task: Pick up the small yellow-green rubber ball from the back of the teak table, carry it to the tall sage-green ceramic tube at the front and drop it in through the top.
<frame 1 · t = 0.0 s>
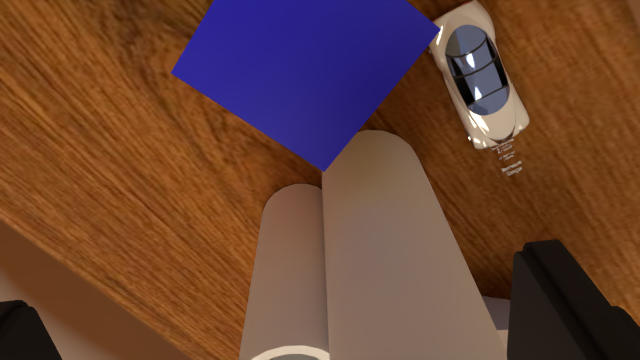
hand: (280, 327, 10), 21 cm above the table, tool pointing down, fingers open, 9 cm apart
bowl: (461, 336, 39), on the table
toy car: (481, 96, 30), on the table
vase: (344, 198, 33), on the table
cube: (305, 17, 27), on the table
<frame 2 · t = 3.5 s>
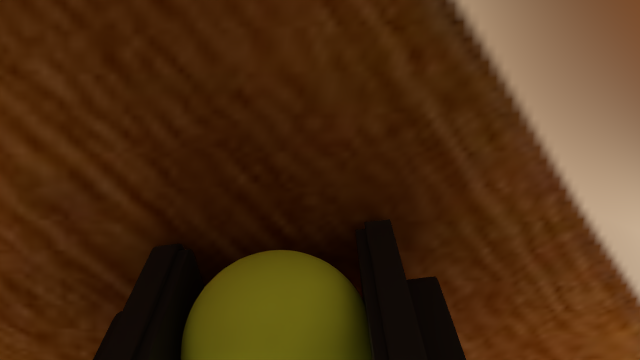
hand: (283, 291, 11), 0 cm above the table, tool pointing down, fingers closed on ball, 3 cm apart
ball: (279, 346, 9), point 2 cm above the table, touching gripper
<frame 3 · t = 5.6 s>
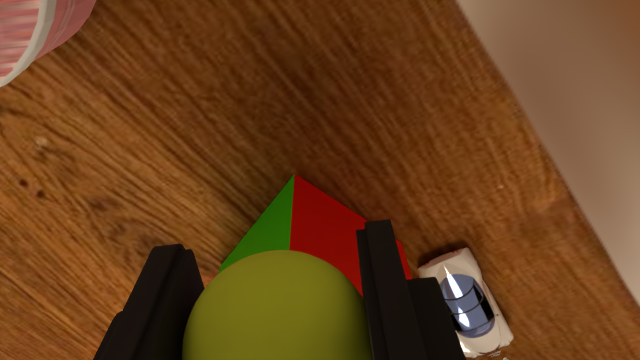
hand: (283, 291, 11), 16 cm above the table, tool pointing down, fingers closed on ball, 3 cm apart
toy car: (470, 309, 33), on the table
cube: (310, 252, 30), on the table
ball: (280, 345, 9), point 18 cm above the table, touching gripper
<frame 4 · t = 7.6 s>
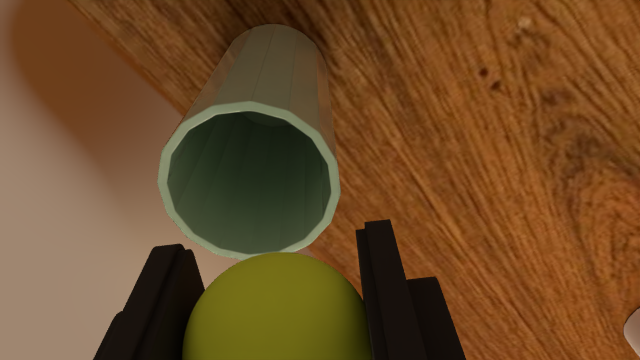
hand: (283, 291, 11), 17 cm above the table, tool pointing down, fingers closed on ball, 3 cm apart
tube: (274, 78, 26), on the table
ball: (280, 347, 9), point 19 cm above the table, touching gripper
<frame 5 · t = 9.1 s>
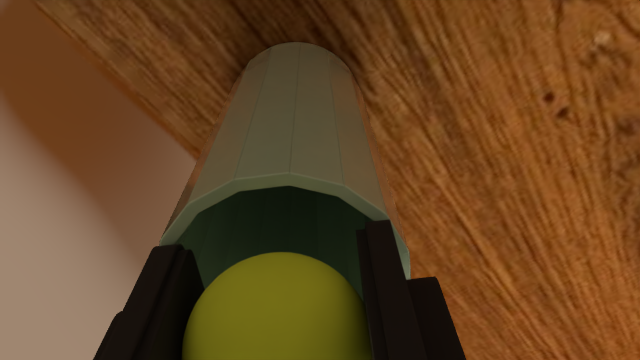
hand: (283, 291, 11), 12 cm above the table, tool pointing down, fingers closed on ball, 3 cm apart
tube: (297, 106, 21), on the table
ball: (280, 348, 9), point 14 cm above the table, touching gripper
when the fingers open (13 cm above the table, at t = 11.7 s): ball drops 12 cm, resting on tube.
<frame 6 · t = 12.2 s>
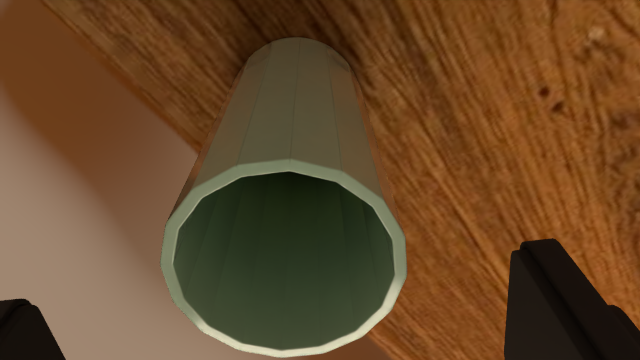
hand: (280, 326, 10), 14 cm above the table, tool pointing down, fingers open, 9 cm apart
tube: (297, 100, 22), on the table
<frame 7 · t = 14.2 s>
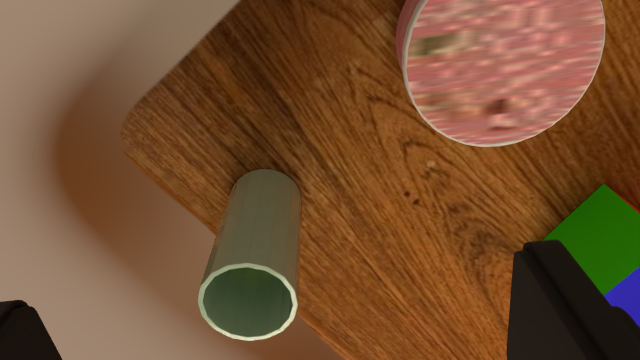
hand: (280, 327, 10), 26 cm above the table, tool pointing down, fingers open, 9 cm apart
container: (461, 28, 33), on the table
tube: (266, 200, 38), on the table
cube: (596, 241, 41), on the table
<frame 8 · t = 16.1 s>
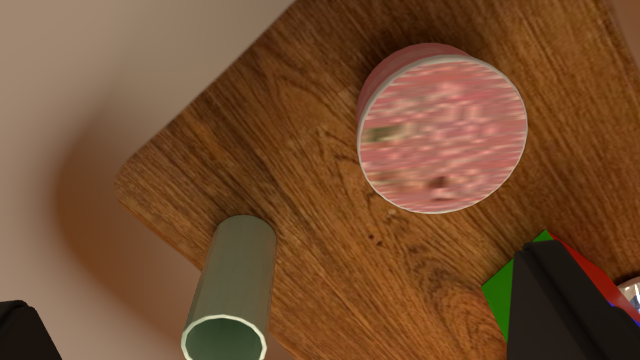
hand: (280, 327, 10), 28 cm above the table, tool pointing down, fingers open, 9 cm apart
container: (416, 99, 37), on the table
toy car: (639, 313, 48), on the table
tube: (245, 241, 43), on the table
cube: (540, 277, 46), on the table
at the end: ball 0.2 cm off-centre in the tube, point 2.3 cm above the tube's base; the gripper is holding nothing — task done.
